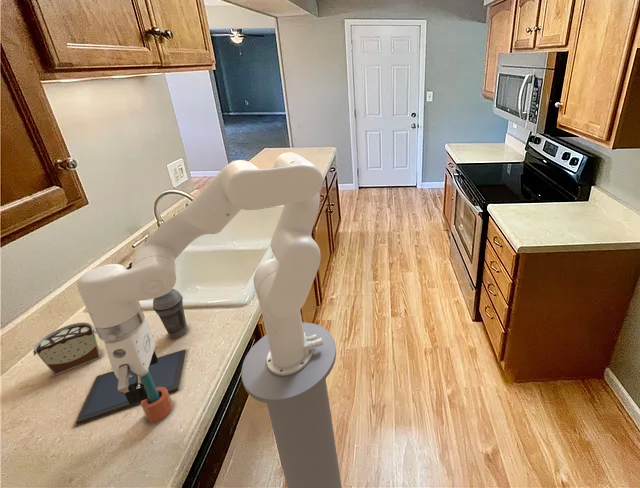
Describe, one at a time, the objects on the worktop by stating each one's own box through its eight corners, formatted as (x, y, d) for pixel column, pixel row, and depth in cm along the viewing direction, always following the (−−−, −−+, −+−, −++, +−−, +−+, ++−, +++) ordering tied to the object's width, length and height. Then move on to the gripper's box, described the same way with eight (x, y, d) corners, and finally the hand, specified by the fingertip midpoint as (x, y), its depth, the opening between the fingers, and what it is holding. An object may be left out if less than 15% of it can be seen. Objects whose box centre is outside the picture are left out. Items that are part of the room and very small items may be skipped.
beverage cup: (183, 320, 105) (165, 268, 97) (197, 327, 102) (180, 274, 94) (159, 337, 99) (138, 282, 91) (174, 345, 96) (153, 289, 88)
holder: (174, 397, 81) (168, 383, 79) (170, 416, 77) (164, 401, 75) (150, 406, 79) (143, 391, 77) (145, 426, 75) (138, 411, 73)
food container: (109, 340, 98) (97, 314, 94) (107, 354, 93) (94, 327, 89) (52, 361, 91) (37, 334, 88) (47, 378, 87) (30, 349, 83)
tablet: (185, 351, 94) (185, 348, 93) (178, 390, 83) (177, 387, 82) (98, 378, 86) (96, 375, 86) (76, 424, 75) (75, 422, 75)
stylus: (165, 404, 79) (148, 365, 74) (163, 411, 77) (146, 372, 72) (156, 408, 78) (138, 368, 73) (154, 415, 76) (136, 375, 72)
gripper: (130, 346, 62) (156, 409, 68) (152, 291, 76) (171, 347, 83) (79, 360, 59) (111, 424, 65) (112, 300, 73) (135, 357, 80)
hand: (145, 381), depth 74 cm, fingers open, 9 cm apart
